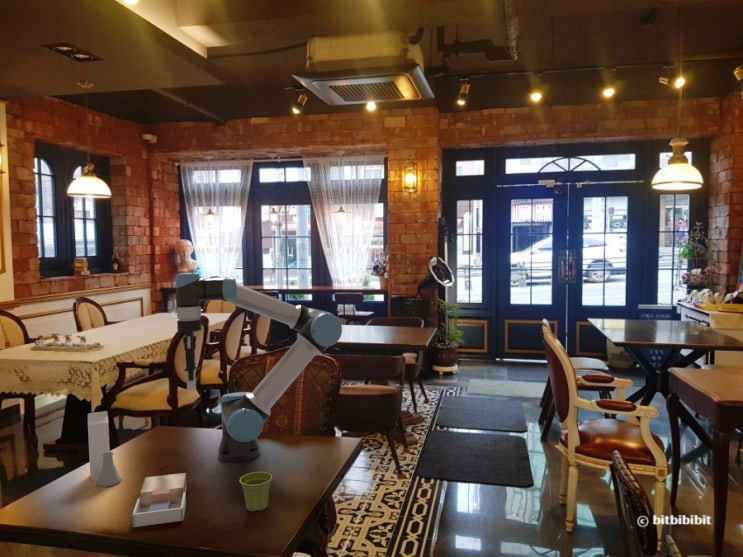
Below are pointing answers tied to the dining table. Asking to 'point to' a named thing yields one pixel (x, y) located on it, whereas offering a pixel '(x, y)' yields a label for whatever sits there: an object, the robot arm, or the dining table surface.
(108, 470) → the flask
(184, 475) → the cream square tray
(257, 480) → the plant pot
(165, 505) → the slate tile
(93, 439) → the milk
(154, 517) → the box
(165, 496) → the terracotta tile
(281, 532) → the dining table surface
